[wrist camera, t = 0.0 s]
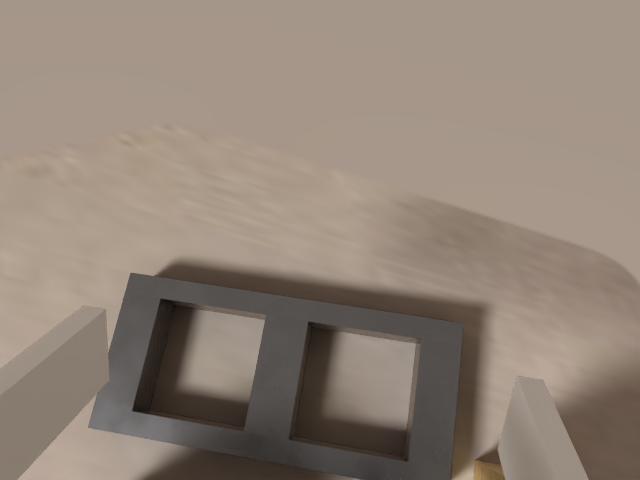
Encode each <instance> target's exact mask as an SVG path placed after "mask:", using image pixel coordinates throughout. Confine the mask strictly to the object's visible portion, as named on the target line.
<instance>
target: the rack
mask: <svg viewBox="0 0 640 480" xmlns="http://www.w3.org/2000/svg"><path fill="white" fill-rule="evenodd" d="M175 305H176V306H182V307H189V308H195V309H201V310H208V311H214V312H220V313H227V314H233V315H239V316H246V317H252V318H258V319H265V324H264V329H263V334H262V340H261V345H260V350H259V355H258V360H257V365H256V371H255V376H254V381H253V386H252V391H251V396H250V401H249V407H248V412H247V417H246V422H245V427H239V426H233V425H228V424H223V423H217V422H212V421H206V420H201V419H195V418H190V417H184V416H179V415H173V414H168V413H162V412H157V411H151V410H149V408H150V404H151V400H152V396H153V392H154V388H155V384H156V379H157V375H158V371H159V367H160V363H161V359H162V355H163V351H164V347H165V343H166V339H167V335H168V331H169V327H170V323H171V319H172V314H173V310H174V306H175ZM463 325H464V323H459V322H452V321H445V320H439V319H432V318H426V317H419V316H413V315H406V314H399V313H393V312H386V311H380V310H373V309H366V308H360V307H353V306H347V305H340V304H334V303H327V302H320V301H314V300H307V299H301V298H294V297H287V296H281V295H274V294H268V293H261V292H255V291H248V290H241V289H235V288H228V287H222V286H215V285H208V284H202V283H195V282H189V281H182V280H175V279H169V278H162V277H156V276H149V275H143V274H136V273H130V277H129V281H128V284H127V288H126V291H125V295H124V299H123V302H122V306H121V310H120V313H119V317H118V320H117V324H116V328H115V331H114V335H113V339H112V342H111V346H110V349H109V353H108V361H109V379H110V380H109V381H108V382H107V383H106V384H105V386H104V387H103V388H102V389H101V390H100V391H99V392H98V393H97V397H96V400H95V404H94V407H93V411H92V415H91V418H90V422H89V426H88V428H93V429H98V430H104V431H109V432H114V433H119V434H125V435H130V436H135V437H141V438H146V439H151V440H156V441H162V442H167V443H172V444H178V445H183V446H188V447H193V448H199V449H204V450H209V451H215V452H220V453H225V454H230V455H236V456H241V457H246V458H252V459H257V460H262V461H267V462H273V463H278V464H283V465H289V466H294V467H299V468H305V469H310V470H315V471H320V472H326V473H331V474H336V475H342V476H347V477H352V478H357V479H363V480H451V468H452V456H453V444H454V432H455V420H456V408H457V396H458V384H459V372H460V360H461V348H462V337H463ZM312 327H315V328H322V329H328V330H334V331H341V332H347V333H353V334H360V335H366V336H372V337H379V338H385V339H391V340H398V341H404V342H410V343H416V350H415V359H414V368H413V378H412V387H411V396H410V405H409V414H408V424H407V433H406V442H405V451H404V457H403V456H398V455H392V454H387V453H381V452H376V451H370V450H365V449H360V448H354V447H349V446H343V445H338V444H332V443H327V442H321V441H316V440H310V439H305V438H299V437H294V430H295V424H296V418H297V412H298V406H299V401H300V395H301V389H302V383H303V377H304V371H305V365H306V359H307V353H308V347H309V341H310V335H311V329H312Z"/></svg>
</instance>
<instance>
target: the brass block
mask: <svg viewBox="0 0 640 480" xmlns="http://www.w3.org/2000/svg"><path fill="white" fill-rule="evenodd" d="M474 480H505V477H504V473H503V469H502V465H500V464H494V463H489V462H483V461H478V460H475V468H474Z"/></svg>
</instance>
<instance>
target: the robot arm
mask: <svg viewBox="0 0 640 480" xmlns="http://www.w3.org/2000/svg"><path fill="white" fill-rule="evenodd" d="M109 380H110V379H109V361H108V342H107V323H106V309H103V308H96V307H90V306H83V307H81V308H80V309H79V310H77V311H76V312H75V313H73V314H72V315H71V316H69V317H68V318H67V319H65V320H64V321H63V322H61V323H60V324H59V325H57V326H56V327H55V328H53V329H52V330H51V331H49V332H48V333H47V334H45V335H44V336H43V337H42V338H40V339H39V340H38V341H36V342H35V343H34V344H32V345H31V346H30V347H28V348H27V349H26V350H24V351H23V352H22V353H20V354H19V355H18V356H16V357H15V358H14V359H12V360H11V361H10V362H8V363H7V364H6V365H4V366H3V367H2V368H0V480H17V479H18V478H19V477H20V476H21V475H22V474H23V473H24V472H25V471H26V470H27V469H28V468H29V466H30V465H31V464H32V463H33V462H34V461H35V460H36V459H37V458H38V457H39V456H40V455H41V453H42V452H43V451H44V450H45V449H46V448H47V447H48V446H49V445H50V444H51V443H52V442H53V441H54V439H55V438H56V437H57V436H58V435H59V434H60V433H61V432H62V431H63V430H64V429H65V428H66V427H67V425H68V424H69V423H70V422H71V421H72V420H73V419H74V418H75V417H76V416H77V415H78V414H79V412H80V411H81V410H82V409H83V408H84V407H85V406H86V405H87V404H88V403H89V402H90V401H91V400H92V398H93V397H94V396H95V395H96V394H97V393H98V392H99V391H100V390H101V389H102V388H103V387H104V386H105V384H106V383H107V382H108V381H109ZM498 453H499V457H500V461H501V465H502V469H503V473H504V477H505V480H589V479H588V477H587V474H586V472H585V470H584V468H583V466H582V463H581V461H580V459H579V457H578V455H577V453H576V450H575V448H574V446H573V444H572V442H571V439H570V437H569V435H568V433H567V431H566V428H565V426H564V424H563V422H562V420H561V418H560V415H559V413H558V411H557V409H556V407H555V404H554V402H553V400H552V398H551V396H550V393H549V391H548V389H547V387H546V385H545V383H544V380H540V379H534V378H527V377H521V376H517V378H516V381H515V385H514V389H513V393H512V397H511V400H510V404H509V408H508V412H507V415H506V419H505V423H504V427H503V431H502V434H501V438H500V442H499V446H498Z"/></svg>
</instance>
